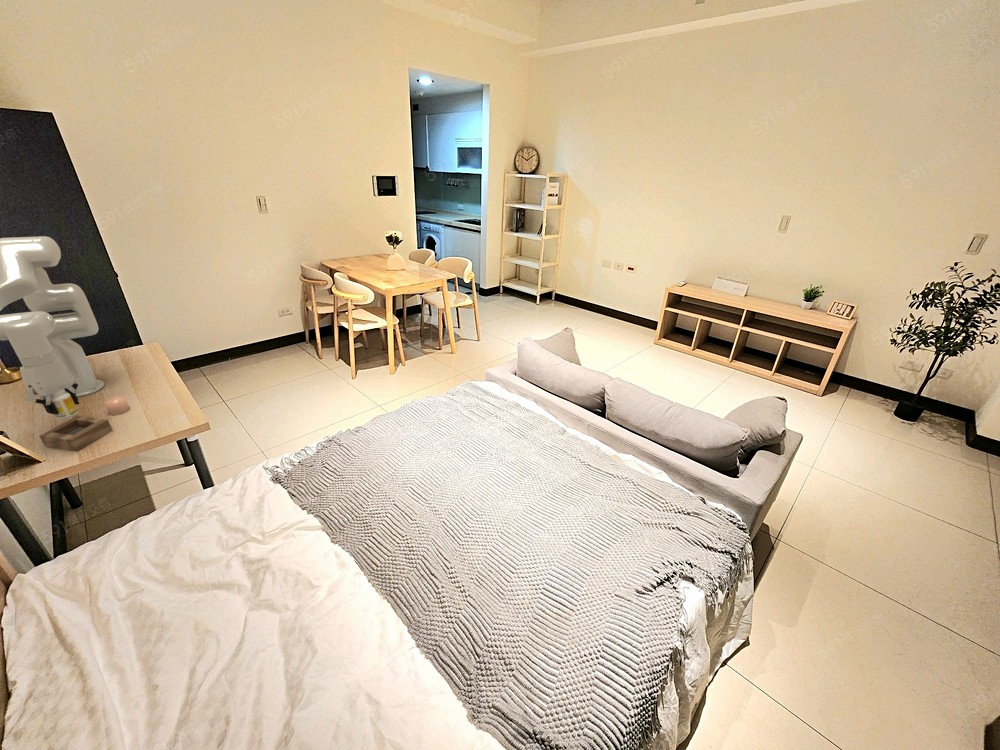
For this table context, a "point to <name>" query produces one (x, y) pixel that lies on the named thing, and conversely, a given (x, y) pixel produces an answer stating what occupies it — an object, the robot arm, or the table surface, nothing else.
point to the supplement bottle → (64, 404)
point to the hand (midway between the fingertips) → (64, 408)
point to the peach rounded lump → (116, 405)
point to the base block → (76, 433)
